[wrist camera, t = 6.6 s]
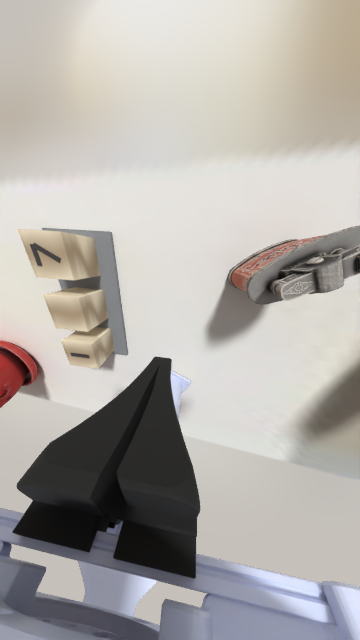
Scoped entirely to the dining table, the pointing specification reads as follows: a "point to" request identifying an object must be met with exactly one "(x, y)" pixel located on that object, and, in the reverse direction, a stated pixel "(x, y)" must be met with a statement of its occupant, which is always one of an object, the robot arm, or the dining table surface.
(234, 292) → the dining table surface
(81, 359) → the block one
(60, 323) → the plain block
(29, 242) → the block seven
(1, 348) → the plant pot
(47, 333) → the dining table surface
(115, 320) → the felt strip
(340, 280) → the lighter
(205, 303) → the dining table surface
